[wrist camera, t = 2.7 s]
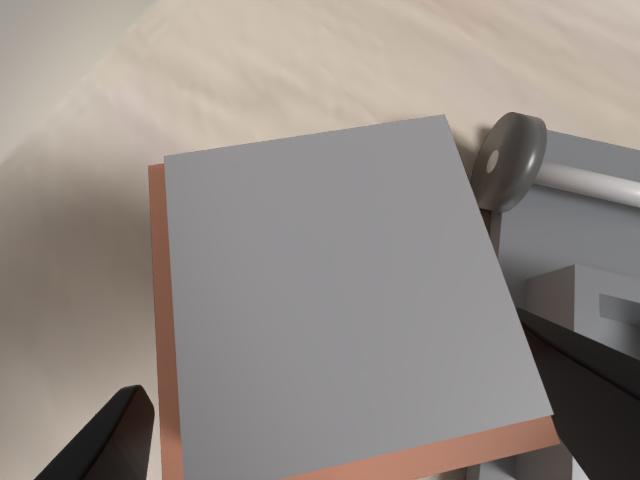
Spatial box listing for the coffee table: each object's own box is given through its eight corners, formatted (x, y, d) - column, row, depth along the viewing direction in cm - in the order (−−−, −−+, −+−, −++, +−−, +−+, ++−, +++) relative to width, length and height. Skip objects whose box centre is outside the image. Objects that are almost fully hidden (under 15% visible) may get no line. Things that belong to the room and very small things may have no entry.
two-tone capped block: (374, 371, 17) (651, 478, 3) (275, 392, 16) (105, 621, 3) (352, 274, 18) (477, 65, 5) (261, 291, 18) (104, 116, 4)
